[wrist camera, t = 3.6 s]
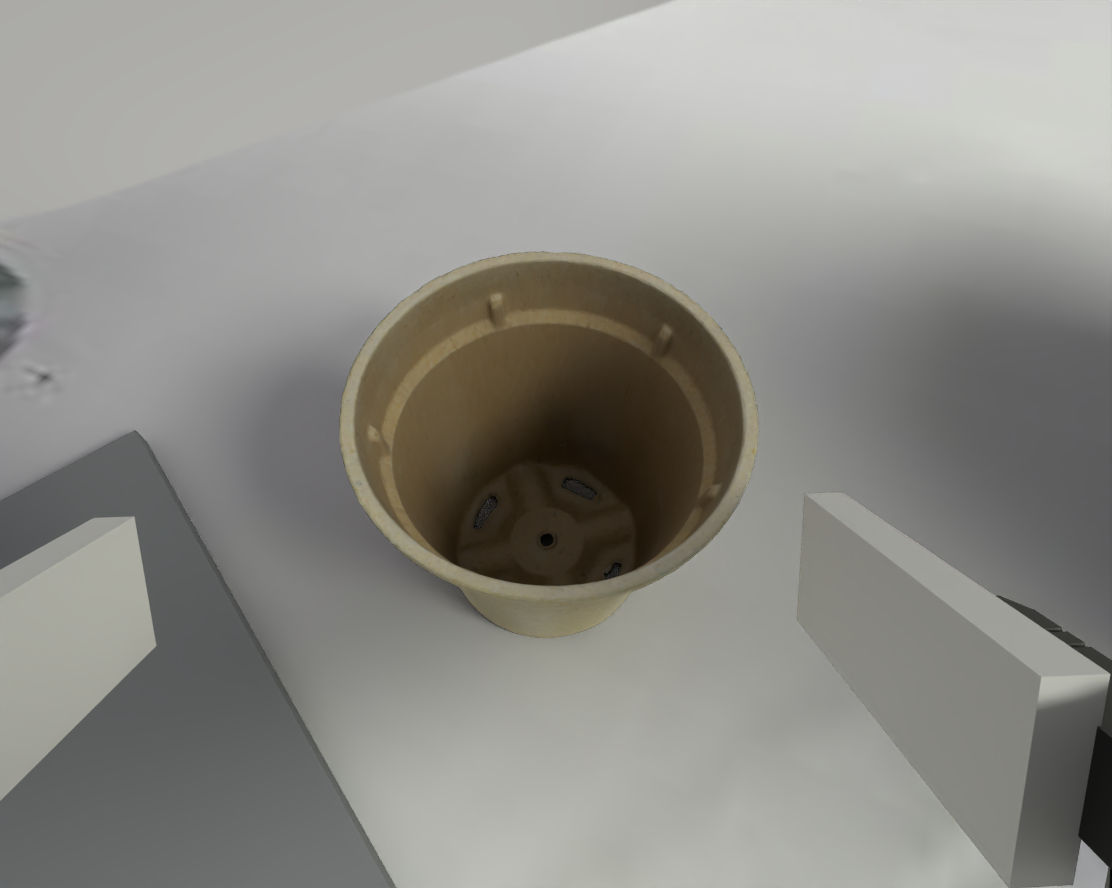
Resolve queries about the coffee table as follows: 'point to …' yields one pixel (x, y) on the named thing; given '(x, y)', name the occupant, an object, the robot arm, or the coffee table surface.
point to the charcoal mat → (173, 727)
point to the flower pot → (548, 433)
